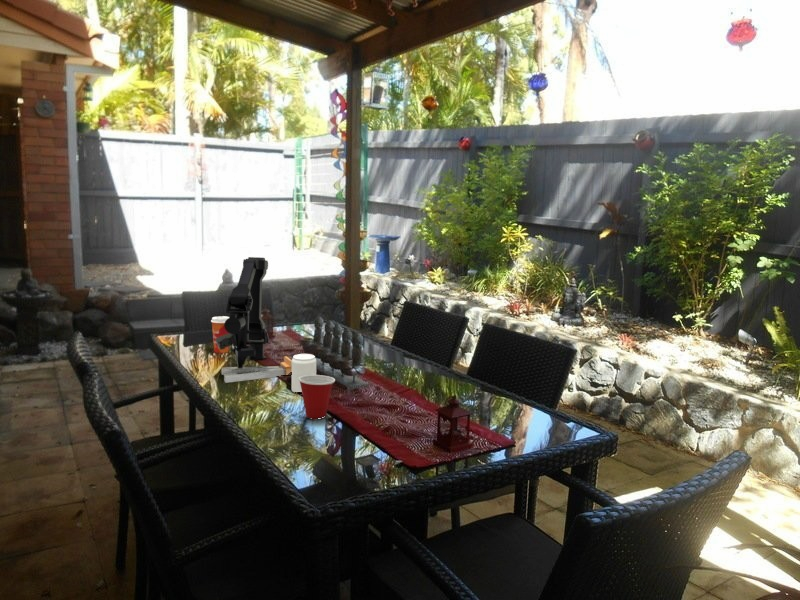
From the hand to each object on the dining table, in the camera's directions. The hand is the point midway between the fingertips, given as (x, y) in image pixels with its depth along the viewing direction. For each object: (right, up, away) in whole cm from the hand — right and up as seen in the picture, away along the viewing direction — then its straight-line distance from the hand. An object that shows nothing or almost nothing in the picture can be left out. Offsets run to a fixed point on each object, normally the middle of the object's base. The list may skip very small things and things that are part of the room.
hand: (239, 368), depth 236 cm
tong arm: (+4, -2, -1) cm, 4 cm away
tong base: (+7, -3, -5) cm, 9 cm away
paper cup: (-15, +4, +29) cm, 33 cm away
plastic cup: (+33, -10, -41) cm, 54 cm away
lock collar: (+17, -2, +1) cm, 17 cm away
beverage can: (+26, -6, -18) cm, 32 cm away
